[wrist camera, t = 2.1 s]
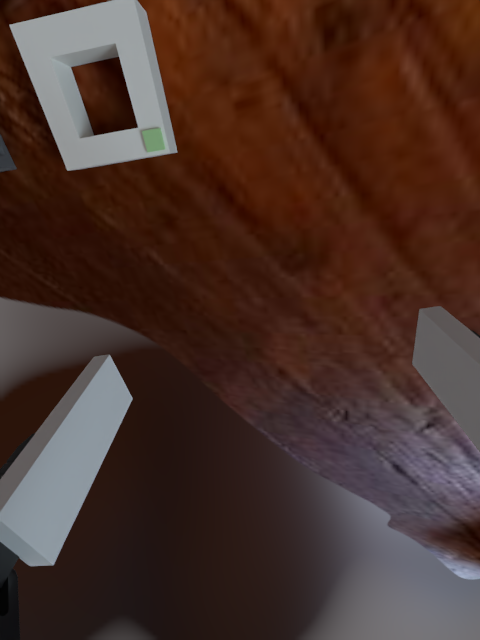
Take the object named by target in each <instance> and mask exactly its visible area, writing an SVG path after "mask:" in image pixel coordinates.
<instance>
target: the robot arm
mask: <svg viewBox="0 0 480 640" xmlns="http://www.w3.org/2000/svg"><path fill="white" fill-rule="evenodd" d="M412 364H413V365H414V367H415V368H416V369H417V371H418V372H419V373H420V374H421V376H422V377H423V378H424V380H425V381H426V382H427V384H428V385H429V386H430V388H431V389H432V390H433V391H434V393H435V394H436V395H437V397H438V398H439V399H440V401H441V402H442V403H443V405H444V406H445V407H446V408H447V410H448V411H449V412H450V414H451V415H452V416H453V418H454V419H455V420H456V422H457V423H458V424H459V425H460V427H461V428H462V429H463V431H464V432H465V433H466V435H467V436H468V437H469V439H470V440H471V441H472V442H473V444H474V445H475V446H476V448H477V449H478V450H479V452H480V338H479V337H478V336H477V335H475V334H474V333H473V332H472V331H470V330H469V329H468V328H467V327H466V326H464V325H463V324H462V323H461V322H459V321H458V320H457V319H456V318H454V317H453V316H452V315H451V314H450V313H448V312H447V311H446V310H445V309H443V308H442V307H441V306H438V307H431V308H424V309H419V317H418V324H417V332H416V339H415V347H414V354H413V362H412ZM131 401H132V396H131V394H130V393H129V391H128V389H127V387H126V385H125V383H124V381H123V379H122V377H121V375H120V374H119V372H118V370H117V368H116V366H115V364H114V362H113V360H112V358H111V356H110V355H103V356H96V357H93V359H92V360H91V361H90V362H89V364H88V365H87V366H86V368H85V369H84V370H83V372H82V373H81V374H80V376H79V377H78V378H77V380H76V381H75V382H74V384H73V385H72V386H71V388H70V389H69V390H68V391H67V393H66V394H65V395H64V397H63V398H62V399H61V401H60V402H59V403H58V404H57V406H56V407H55V408H54V410H53V411H52V412H51V414H50V415H49V416H48V418H47V419H46V420H45V421H44V423H43V424H42V425H41V427H40V428H39V429H38V431H37V432H36V433H34V434H32V435H31V436H30V437H29V438H27V439H26V440H25V441H24V442H23V443H22V444H21V445H19V446H18V448H17V449H16V450H15V451H14V453H13V454H12V455H11V456H10V458H9V459H8V460H7V463H6V464H4V465H3V466H2V468H1V469H0V640H20V627H19V601H18V577H17V574H16V571H15V570H14V569H12V568H13V567H14V565H15V563H16V561H17V560H18V558H20V559H22V560H23V561H24V562H25V563H27V564H28V565H29V566H45V565H53V564H54V563H55V560H56V558H57V556H58V554H59V552H60V550H61V548H62V546H63V543H64V542H65V539H66V537H67V535H68V533H69V531H70V529H71V526H72V525H73V523H74V520H75V518H76V516H77V514H78V512H79V510H80V508H81V506H82V504H83V502H84V500H85V497H86V495H87V493H88V491H89V489H90V487H91V485H92V483H93V481H94V479H95V476H96V474H97V472H98V470H99V468H100V466H101V463H102V462H103V460H104V458H105V455H106V453H107V451H108V449H109V447H110V445H111V443H112V441H113V439H114V437H115V435H116V432H117V430H118V428H119V426H120V424H121V422H122V420H123V418H124V416H125V413H126V411H127V409H128V407H129V405H130V403H131Z"/></svg>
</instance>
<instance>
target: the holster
mask: <svg viewBox="0 0 480 640" xmlns="http://www.w3.org/2000/svg"><path fill="white" fill-rule="evenodd" d="M14 169H17V168H16V166H15V164H14V162H13V160H12V158H11V156H10V154H9V152H8V150H7V148H6V146H5V143H4V141H3V139H2V137H1V135H0V172H3V171H9V170H14Z"/></svg>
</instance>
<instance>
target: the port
mask: <svg viewBox="0 0 480 640" xmlns="http://www.w3.org/2000/svg"><path fill="white" fill-rule="evenodd" d="M9 26H10V29H11V31H12V33H13V36H14V38H15V41H16V43H17V46H18V48H19V51H20V53H21V56H22V58H23V61H24V63H25V66H26V68H27V71H28V73H29V76H30V78H31V81H32V83H33V86H34V88H35V91H36V93H37V96H38V98H39V101H40V103H41V106H42V108H43V111H44V113H45V116H46V118H47V121H48V123H49V126H50V128H51V131H52V133H53V136H54V138H55V141H56V143H57V146H58V148H59V151H60V153H61V156H62V158H63V161H64V163H65V166H66V168H67V171H70V170H78V169H86V168H92V167H98V166H103V165H109V164H115V163H121V162H126V161H132V160H138V159H144V158H149V157H155V156H161V155H167V154H172V153H178V152H177V148H176V143H175V139H174V134H173V130H172V125H171V121H170V116H169V112H168V107H167V103H166V98H165V94H164V89H163V85H162V80H161V76H160V71H159V67H158V62H157V58H156V53H155V49H154V44H153V40H152V35H151V31H150V26H149V22H148V17H147V13H146V11H145V10H144V9H143V7H142V6H141V5H140V3H139V2H138V1H137V0H112V1H108V2H104V3H99V4H95V5H91V6H87V7H83V8H78V9H74V10H70V11H66V12H62V13H57V14H53V15H49V16H45V17H41V18H36V19H32V20H28V21H24V22H20V23H15V24H11V25H9ZM115 57H119V58H120V62H121V66H122V69H123V73H124V77H125V81H126V84H127V88H128V92H129V95H130V99H131V103H132V106H133V110H134V114H135V117H136V121H137V125H138V128H134V129H128V130H123V131H118V132H112V133H107V134H101V135H96V136H94V134H93V131H92V128H91V125H90V122H89V119H88V116H87V113H86V110H85V108H84V105H83V102H82V99H81V96H80V93H79V90H78V87H77V84H76V81H75V78H74V75H73V72H72V69H71V67H73V66H78V65H82V64H87V63H91V62H96V61H101V60H105V59H110V58H115Z"/></svg>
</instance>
